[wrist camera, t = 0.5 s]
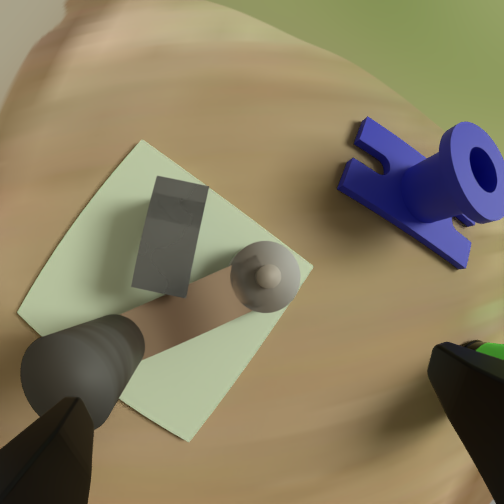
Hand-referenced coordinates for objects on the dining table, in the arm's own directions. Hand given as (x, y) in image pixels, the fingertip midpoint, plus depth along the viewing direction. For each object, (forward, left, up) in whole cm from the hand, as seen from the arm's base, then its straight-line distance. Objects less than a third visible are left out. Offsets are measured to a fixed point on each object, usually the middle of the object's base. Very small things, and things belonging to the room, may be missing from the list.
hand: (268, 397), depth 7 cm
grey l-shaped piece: (0, +2, -14) cm, 14 cm away
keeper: (+3, +5, -15) cm, 16 cm away
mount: (+19, -9, -16) cm, 26 cm away
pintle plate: (0, +4, -15) cm, 16 cm away
